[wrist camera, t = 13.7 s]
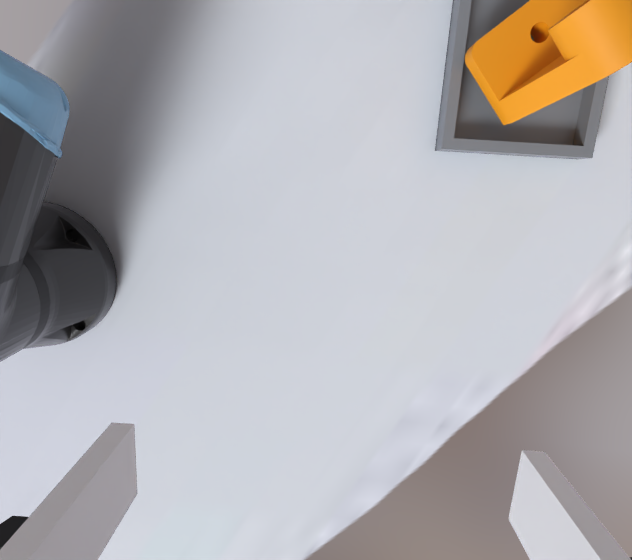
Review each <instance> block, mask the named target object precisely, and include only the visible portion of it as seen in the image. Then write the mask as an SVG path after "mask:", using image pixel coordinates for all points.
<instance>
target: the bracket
mask: <svg viewBox="0 0 632 560" xmlns="http://www.w3.org/2000/svg"><path fill="white" fill-rule="evenodd" d="M530 34H531V35H532V36H533V38H534V41H533V40H532V39H531V36H530ZM631 62H632V0H530V1H529V2H527V3H526V4H525V5H523V6H522V7H521V8H519V9H518V10H517V11H516V12H514V13H513V14H512V15H510V16H509V17H508V18H506V19H505V20H504V21H503V22H501V23H500V24H499V25H497V26H496V27H495V28H493V29H492V30H491V31H490V32H488V33H487V34H486V35H484V36H483V37H482V38H481V39H479V40H478V41H477V42H476V43H475V44H473V45H472V46H471V47H470V48H469V49H468V50H467V52H466V54H465V63H466V65H467V67H468V69H469V70H470V72H471V73H472V75H473V77H474V78H475V80H476V82H477V83H478V85H479V86H480V88H481V90H482V91H483V93H484V95H485V96H486V98H487V99H488V101H489V103H490V104H491V106H492V108H493V109H494V111H495V112H496V114H497V116H498V117H499V119H500V121H501V122H502V124H503V125H507V124H510V123H513V122H515V121H517V120H519V119H521V118H523V117H525V116H527V115H529V114H531V113H534V112H536V111H538V110H540V109H542V108H544V107H546V106H548V105H550V104H552V103H554V102H556V101H558V100H560V99H562V98H564V97H566V96H568V95H571V94H573V93H575V92H577V91H579V90H581V89H583V88H585V87H587V86H589V85H591V84H593V83H595V82H597V81H599V80H601V79H603V78H605V77H607V76H609V75H611V74H612V73H614V72H616V71H618V70H619V69H621V68H623V67H624V66H626V65H628V64H629V63H631Z"/></svg>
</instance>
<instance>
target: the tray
mask: <svg viewBox="0 0 632 560" xmlns="http://www.w3.org/2000/svg"><path fill="white" fill-rule="evenodd" d="M529 1H530V0H453V5H452V14H451V22H450V30H449V39H448V47H447V55H446V64H445V72H444V80H443V89H442V97H441V105H440V114H439V122H438V130H437V139H436V147H435V151H451V152H467V153H484V154H500V155H517V156H533V157H550V158H566V159H585V158H592V157H593V152H594V147H595V142H596V137H597V132H598V127H599V122H600V117H601V112H602V107H603V102H604V98H605V93H606V88H607V83H608V78H609V76H607V77H605V78H603V79H601V80H599V81H597V82H595V83H593V84H591V85H589V86H587V87H585V88H583V89H581V90H579V91H577V92H575V93H573V94H571V95H568V96H566V97H564V98H562V99H560V100H558V101H556V102H554V103H552V104H550V105H548V106H546V107H544V108H542V109H540V110H538V111H536V112H534V113H531V114H529V115H527V116H525V117H523V118H521V119H519V120H517V121H515V122H513V123H510V124H507V125H503V124H502V122H501V121H500V119H499V117H498V116H497V114H496V112H495V111H494V109H493V108H492V106H491V104H490V103H489V101H488V99H487V98H486V96H485V95H484V93H483V91H482V90H481V88H480V86H479V85H478V83H477V82H476V80H475V78H474V77H473V75H472V73H471V72H470V70H469V69H468V67H467V65H466V63H465V54H466V52H467V50H468V49H469V48H470V47H471V46H472V45H473V44H475V43H476V42H477V41H478V40H479V39H481V38H482V37H483V36H484V35H486V34H487V33H488V32H490V31H491V30H492V29H493V28H495V27H496V26H497V25H499V24H500V23H501V22H503V21H504V20H505V19H506V18H508V17H509V16H510V15H512V14H513V13H514V12H516V11H517V10H518V9H519V8H521V7H522V6H523V5H525V4H526V3H527V2H529ZM530 36H531V39H532V40H533V41H534V38H533V36H532V35H531V34H530Z"/></svg>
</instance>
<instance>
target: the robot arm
mask: <svg viewBox="0 0 632 560" xmlns="http://www.w3.org/2000/svg"><path fill="white" fill-rule="evenodd" d="M69 111H70V107H69V102H68V99H67V96H66V94H65V93H64V91H63V90H62V89H61V87H60V86H59V85H58V84H57V83H56V82H54V81H53V80H52V79H50V78H48V77H47V76H45V75H43V74H41V73H40V72H38V71H36V70H35V69H33V68H31V67H29V66H28V65H26V64H24V63H22V62H20V61H19V60H17V59H15V58H14V57H12V56H10V55H8V54H6V53H5V52H3V51H1V50H0V362H1V361H3V360H4V359H6V358H8V357H10V356H11V355H13V354H15V353H17V352H18V351H20V350H22V349H26V348H34V347H42V346H50V345H57V344H62V343H65V342H68V341H71V340H73V339H75V338H77V337H79V336H81V335H82V334H84V333H86V332H87V331H89V330H90V329H92V328H93V327H94V326H96V325H97V324H98V323H99V322H100V321H101V320H102V319H103V318H104V316H105V315H106V314H107V312H108V310H109V309H110V307H111V304H112V302H113V299H114V295H115V290H116V271H115V266H114V262H113V258H112V256H111V253H110V251H109V249H108V247H107V245H106V243H105V241H104V240H103V238H102V237H101V236H100V234H99V233H98V232H97V231H96V229H95V228H94V227H93V226H92V225H91V224H90V223H88V222H87V221H86V220H85V219H84V218H82V217H81V216H79V215H78V214H76V213H75V212H73V211H71V210H69V209H67V208H64V207H62V206H59V205H56V204H52V203H46V202H43V201H44V198H45V195H46V192H47V189H48V185H49V182H50V179H51V176H52V173H53V170H54V167H55V164H56V161H57V158H61V156H62V151H61V149H60V147H61V143H62V140H63V136H64V132H65V129H66V125H67V121H68V117H69ZM136 495H137V475H136V452H135V430H134V424H125V423H111V424H110V425H109V426H108V428H107V429H106V430H105V431H104V432H103V433H102V434H101V436H100V437H99V438H98V439H97V440H96V441H95V442H94V443H93V445H92V446H91V447H90V448H89V449H88V450H87V451H86V453H85V454H84V455H83V456H82V457H81V458H80V459H79V461H78V462H77V463H76V464H75V465H74V466H73V467H72V469H71V470H70V471H69V472H68V473H67V474H66V475H65V476H64V478H63V479H62V480H61V481H60V482H59V483H58V484H57V486H56V487H55V488H54V489H53V490H52V491H51V492H50V494H49V495H48V496H47V497H46V498H45V499H44V500H43V502H42V503H41V504H40V505H39V506H38V507H37V508H36V509H35V511H34V512H33V513H32V514H31V515H30V516H29V517H22V516H12V517H10V518H9V519H7V520H6V521H4V522H3V523H1V524H0V560H98V558H99V557H100V555H101V553H102V552H103V550H104V548H105V547H106V545H107V543H108V542H109V540H110V538H111V537H112V535H113V533H114V532H115V530H116V528H117V527H118V525H119V523H120V522H121V520H122V518H123V517H124V515H125V513H126V512H127V510H128V508H129V507H130V505H131V503H132V502H133V500H134V498H135V497H136ZM509 521H510V523H511V525H512V527H513V528H514V530H515V532H516V534H517V535H518V538H519V540H520V541H521V543H522V545H523V547H524V549H525V550H526V553H527V555H528V556H529V558H530V560H632V557H629V556H628V555H627V554H626V553H625V551H624V550H623V549H622V548H621V546H620V545H619V544H618V543H617V541H616V540H615V539H614V538H613V536H612V535H611V534H610V533H609V532H608V530H607V529H606V528H605V527H604V525H603V524H602V523H601V521H600V520H599V519H598V518H597V516H596V515H595V514H594V513H593V511H592V510H591V509H590V508H589V506H588V505H587V504H586V503H585V501H584V500H583V499H582V498H581V496H580V495H579V494H578V493H577V491H576V490H575V489H574V488H573V486H572V485H571V484H570V483H569V481H568V480H567V479H566V478H565V476H564V475H563V474H562V473H561V471H560V470H559V469H558V468H557V466H556V465H555V464H554V463H553V461H552V460H551V459H550V458H549V456H548V455H547V454H546V453H545V452H541V451H527V450H522V453H521V458H520V463H519V468H518V473H517V478H516V483H515V488H514V494H513V499H512V504H511V509H510V514H509Z"/></svg>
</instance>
